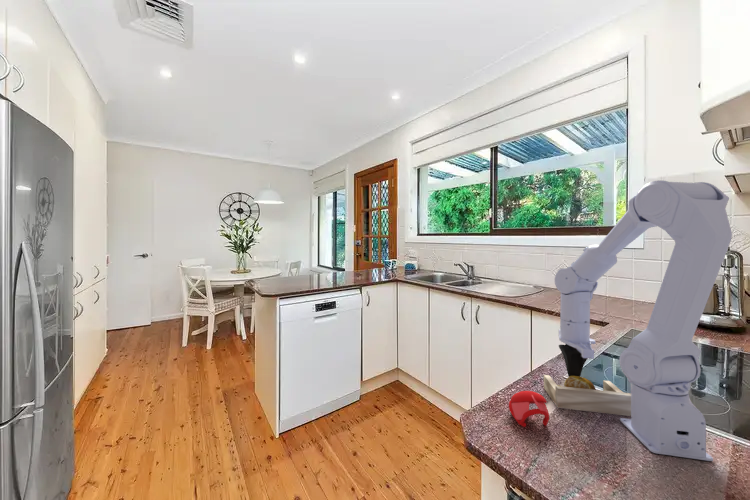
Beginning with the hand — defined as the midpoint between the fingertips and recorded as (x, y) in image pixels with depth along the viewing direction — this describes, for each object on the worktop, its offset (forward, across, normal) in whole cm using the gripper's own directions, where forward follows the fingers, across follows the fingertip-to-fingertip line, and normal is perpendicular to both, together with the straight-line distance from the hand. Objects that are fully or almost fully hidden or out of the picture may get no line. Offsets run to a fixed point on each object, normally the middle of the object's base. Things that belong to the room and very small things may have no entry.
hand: (574, 377), depth 68 cm
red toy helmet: (+3, -17, +14) cm, 22 cm away
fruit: (+3, -4, +2) cm, 5 cm away
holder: (+3, -5, 0) cm, 6 cm away
